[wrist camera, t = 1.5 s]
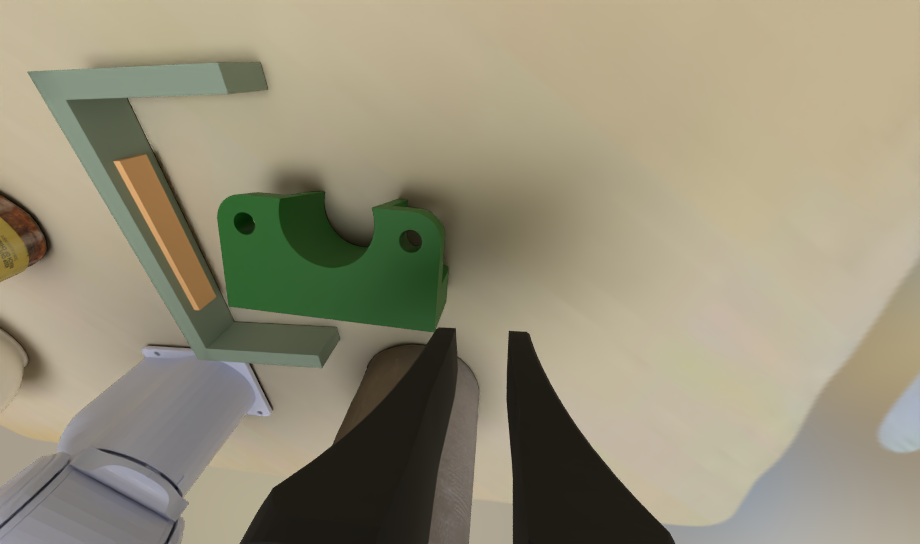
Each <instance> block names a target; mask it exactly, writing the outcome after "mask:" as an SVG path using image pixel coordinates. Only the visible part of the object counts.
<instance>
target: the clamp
mask: <svg viewBox="0 0 920 544" xmlns="http://www.w3.org/2000/svg"><path fill="white" fill-rule="evenodd" d="M324 199H325V192H321V191H313V192H305V193H298V194H291V195H280V194H270V193H259V192H257V193H247V194H238V195H232V196H230V197H228V198H226V199H225V200H224V201H223V202H222V203H221V205H220V207H219V209H218V215H217V219H218V227H219V235H220V243H221V251H222V258H223V266H224V274H225V282H226V289H227V297H228V305H229V307H237V308H245V309H253V310H261V311H269V312H277V313H285V314H293V315H301V316H309V317H317V318H325V319H333V320H341V321H349V322H357V323H364V324H372V325H380V326H388V327H396V328H404V329H412V330H420V331H428V332H435V330H436V327H437V324H438V322H439V319H440V316H441V314H442V311H443V308H444V306H445V303H446V297H447V285H448V272H449V268H448V267H447V266H446V265H444V264H443V258H444V245H445V232H444V228H443V225H442V223H441V222H440V220H439V219H438V218H437V217H436V216H435V215H434V214H433V213H431V212H429V211H427V210H425V209H420V208H410V207H408V205H407V200H403V199H397V200H394V201H391V202H388V203H385V204H382V205H379V206H376V207H373V208H372V211H373V215H374V234H373V238H372V241H371V244H370V246H369V247H360V246H355V245H352V244H350V243H348V242H346V241H345V240H343V239H342V238H340V237H339V236H338V235H337V234H336V233H335V231H334V230H333V229H332V227H331V226H330V224H329V222H328V220H327V217H326V213H325V208H324ZM253 219H254V221H253ZM254 222H255V223H254ZM407 230H414V231H416V232H417V233H419V235H420V236H421V238H422V246H413V245H411V244H410V243H409V242H408V240H407V237H406V234H407Z"/></svg>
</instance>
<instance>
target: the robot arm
mask: <svg viewBox="0 0 920 544" xmlns="http://www.w3.org/2000/svg"><path fill="white" fill-rule="evenodd" d="M142 353H143V355H144V356H145V357H146V358H145V359H143V360H142V361H141V362H140V363H138V364H137V365H136V366H135V367H134V368H132V369H131V370H130V371H129V372H127V373H126V374H125V375H124V376H122V377H121V378H120V379H119V380H118V381H116V382H115V383H114V384H113V385H111V386H110V387H109V388H108V389H106V390H105V391H104V392H103V393H102V394H100V395H99V396H98V397H97V398H95V399H94V400H93V401H92V402H90V403H89V404H88V405H87V406H86V407H84V408H83V409H82V410H81V411H80V412H79V413H78V414H77V415H75V417H74V418H73V419H72V420H71V421H70V423H69V424H68V425H67V427H66V428H65V430H64V432H63V434H62V436H61V438H60V440H59V444H58V449H57V453H56V454H52V455H47V456H43V457H41V458H39V459H38V460H36V461H35V462H33V463H32V464H31V465H29V466H28V467H27V468H25V469H24V470H23V471H21V472H20V473H19V474H17V475H16V476H15V477H14V478H12V479H11V480H10V481H8V482H7V483H6V484H5V485H4V486H2V487H1V488H0V544H181V541H182V537H183V530H184V525H185V524H184V523H185V521H184V519H183V518H182V517H180V515H181V514H182V512H183V511H184V510H185V508H186V507H187V505H188V504H189V502H188V501H186V500H185V499H183V498H184V496H185V495H186V494H187V492H188V491H189V489H190V488H191V487H192V485H193V484H194V483H195V481H196V480H197V479H198V477H199V476H200V475H201V473H202V472H203V471H204V469H205V468H206V467H207V465H208V464H209V463H210V461H211V460H212V459H213V457H214V456H215V455H216V453H217V452H218V451H219V449H220V448H221V447H222V445H223V444H224V443H225V441H226V440H227V439H228V437H229V436H230V435H231V433H232V432H233V431H234V429H235V428H236V427H237V425H238V424H239V423H240V421H241V420H242V419H243V417H244V416H245V414H246V415H257V416H270V415H271V413H272V409H271V407H270V405H269V403H268V401H267V399H266V397H265V395H264V393H263V391H262V389H261V387H260V385H259V383H258V381H257V379H256V377H255V375H254V373H253V371H252V369H251V367H250V365H249V363H239V362H224V361H209V360H198V359H197V357H196V355H195V353H194V352H193V350H192V349H189V348H174V347H158V346H145V347H144V348H143V349H142ZM457 374H458V362H457V344H456V328H437V329H436V330H435V332H434V334H433V335H432V337H431V339H430V340H429V342H428V343H427V345H426V346H425V348H424V349H423V351H422V352H421V354H420V355H419V356H418V358H417V359H416V360H415V362H414V363H413V364H412V366H411V367H410V368H409V370H408V371H407V372H406V374H405V375H404V376H403V377H402V378H401V380H400V381H399V382H398V383H397V384H396V386H395V387H394V388H393V389H392V390H391V391H390V392H389V394H388V395H387V396H386V397H385V398H384V399H383V400H382V401H381V402H380V403H379V404H378V405H377V406H376V407H375V408H374V409H373V410H372V411H371V412H370V413H369V414H368V415H367V416H366V417H365V418H364V419H363V420H362V421H361V422H359V423H358V424H357V425H356V426H355V427H354V428H353V429H352V430H351V431H349V432H348V433H347V434H346V435H345V436H344V437H342V438H341V439H340V440H339V441H337V442H336V443H335V444H334V445H332V446H331V447H330V448H329V449H327V450H326V451H325V452H324V453H322V454H321V455H320V456H318V457H317V458H316V459H314V460H313V461H312V462H310V463H309V464H308V465H306V466H305V467H303V468H302V469H300V470H299V471H297V472H296V473H294V474H293V475H292V476H290V477H289V478H287V479H286V480H284V481H283V482H281V483H280V484H278V485H277V486H275V487H274V488H273V489H272V491H271V492H270V494H269V495H268V497H267V498H266V500H265V501H264V503H263V504H262V505H261V507H260V509H259V510H258V512H257V514H256V515H255V517H254V519H253V521H252V522H251V525H250V526H249V528H248V530H247V531H246V533H245V535H244V537H243V539H242V540H241V542H240V544H428V543H429V535H430V527H431V519H432V512H433V504H434V497H435V490H436V483H437V475H438V469H439V464H440V459H441V454H442V450H443V446H444V441H445V437H446V433H447V429H448V424H449V420H450V416H451V411H452V407H453V402H454V398H455V391H456V383H457ZM507 411H508V423H509V434H510V446H511V457H512V472H513V544H675V542H674V540H673V538H672V536H671V534H670V533H669V532H668V531H667V529H666V528H664V526H662V524H661V523H660V522H659V521H658V520H657V519H656V518H655V517H654V516H653V515H652V514H651V513H650V512H649V511H648V510H647V509H646V508H645V507H644V506H643V505H642V504H641V503H640V502H639V501H638V500H637V499H636V498H635V497H634V496H633V494H632V493H631V492H630V491H629V490H628V489H627V488H626V487H625V486H624V484H623V483H622V482H621V481H620V480H619V479H618V478H617V477H616V476H615V474H614V473H613V472H612V471H611V469H610V468H609V467H608V466H607V465H606V463H605V462H604V461H603V460H602V459H601V457H600V456H599V455H598V454H597V452H596V451H595V450H594V449H593V448H592V446H591V445H590V444H589V442H588V441H587V439H586V438H585V437H584V435H583V434H582V433H581V431H580V430H579V428H578V427H577V426H576V424H575V423H574V421H573V420H572V418H571V417H570V415H569V414H568V412H567V411H566V409H565V407H564V406H563V404H562V403H561V401H560V399H559V398H558V396H557V394H556V392H555V391H554V389H553V387H552V385H551V383H550V382H549V380H548V378H547V376H546V374H545V372H544V370H543V368H542V366H541V363H540V361H539V359H538V357H537V354H536V352H535V349H534V347H533V344H532V341H531V337H530V334H529V333H527V332H518V331H509V340H508V361H507Z"/></svg>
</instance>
